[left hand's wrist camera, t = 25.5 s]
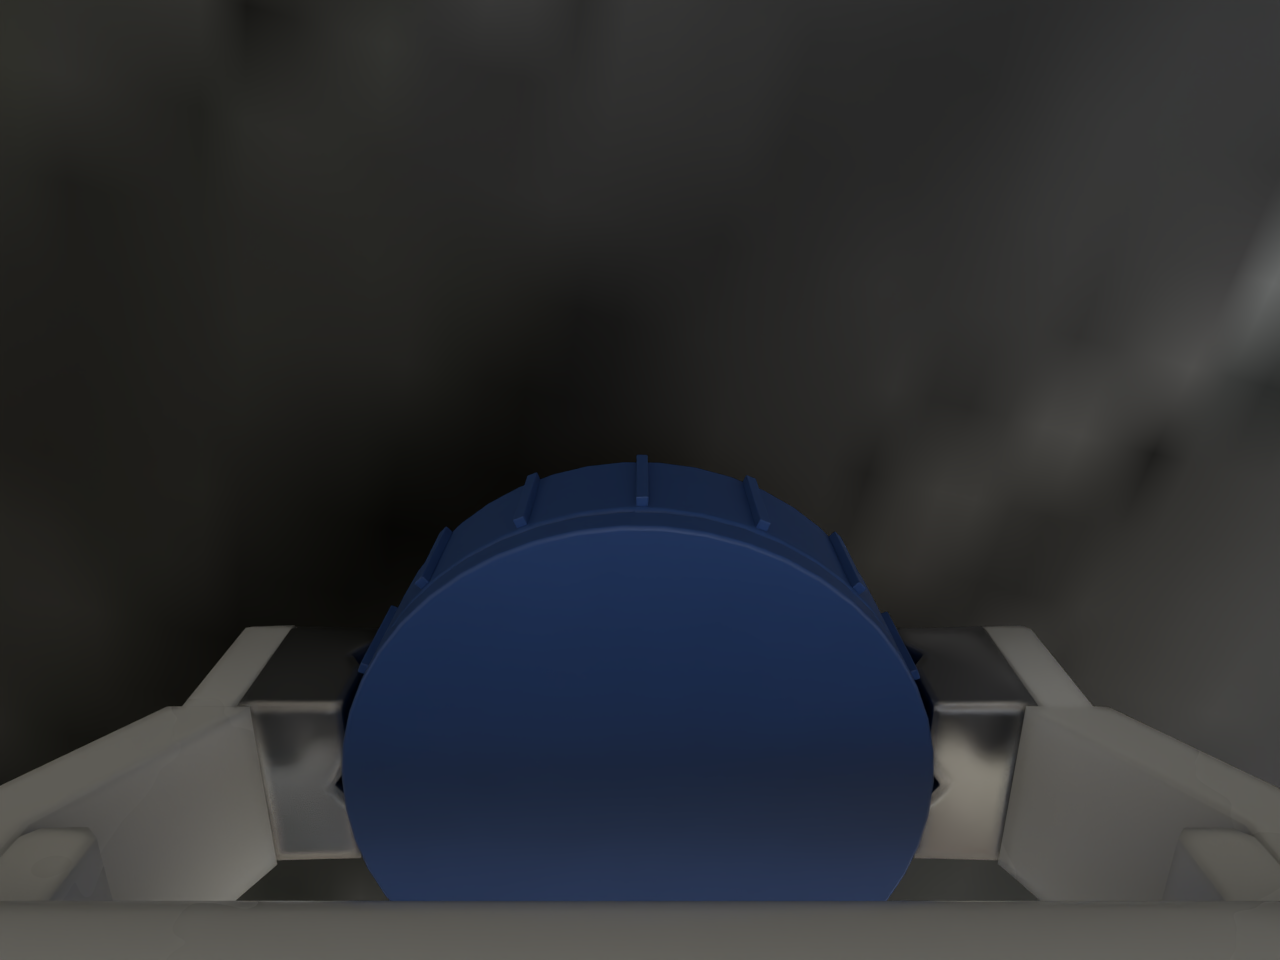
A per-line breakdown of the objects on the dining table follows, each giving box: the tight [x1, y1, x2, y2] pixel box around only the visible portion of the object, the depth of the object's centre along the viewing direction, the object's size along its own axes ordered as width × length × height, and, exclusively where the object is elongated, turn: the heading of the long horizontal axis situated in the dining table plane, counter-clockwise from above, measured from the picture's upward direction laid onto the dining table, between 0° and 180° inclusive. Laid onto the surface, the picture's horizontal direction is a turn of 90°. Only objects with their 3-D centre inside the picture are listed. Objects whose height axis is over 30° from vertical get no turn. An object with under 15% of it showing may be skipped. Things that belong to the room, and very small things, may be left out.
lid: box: [342, 455, 934, 901], centre depth 9 cm, size 6×6×2 cm
